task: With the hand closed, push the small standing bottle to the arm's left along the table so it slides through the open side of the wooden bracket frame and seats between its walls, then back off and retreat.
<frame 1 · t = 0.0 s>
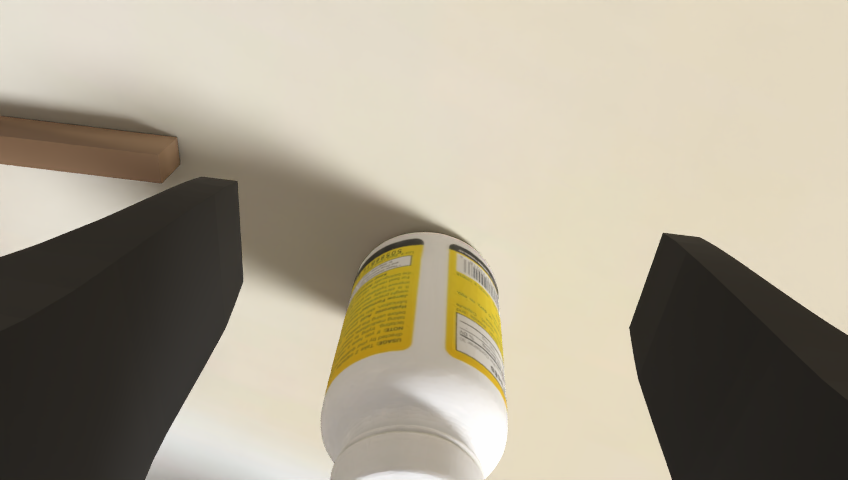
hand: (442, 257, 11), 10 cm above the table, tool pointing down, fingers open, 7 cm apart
wooden bracket frame: (85, 248, 23), on the table
supplement bottle: (427, 285, 24), on the table
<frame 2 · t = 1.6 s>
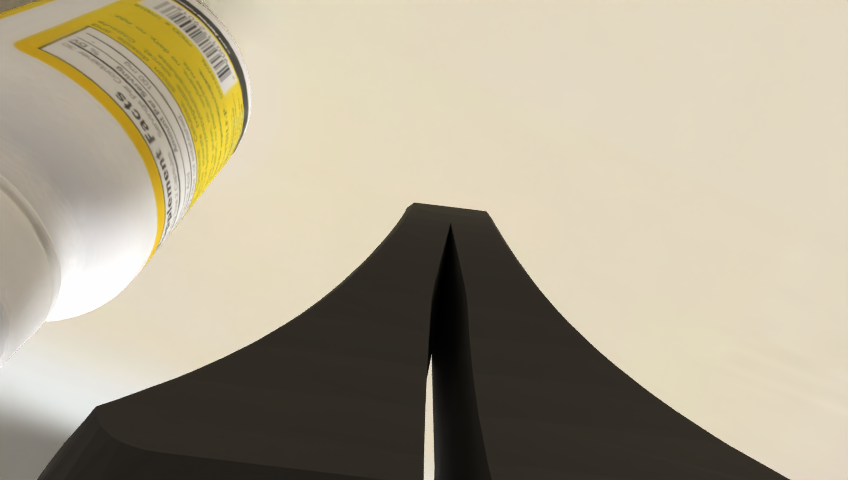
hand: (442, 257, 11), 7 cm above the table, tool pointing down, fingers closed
supplement bottle: (162, 79, 17), on the table
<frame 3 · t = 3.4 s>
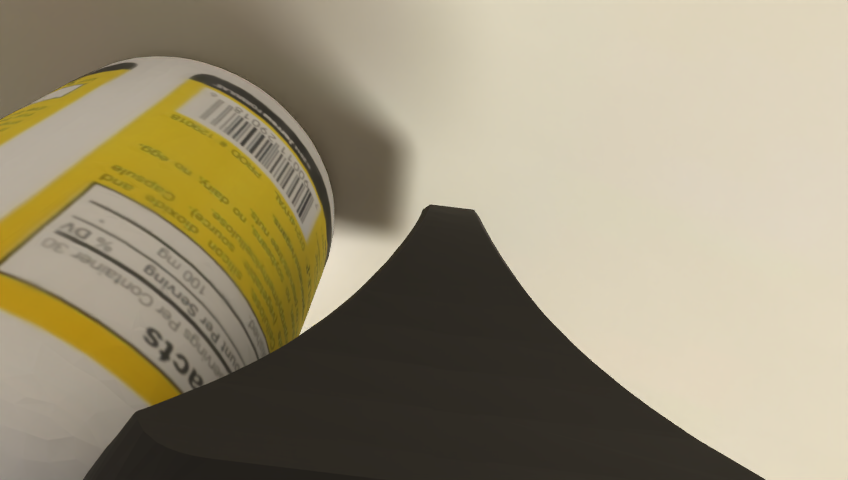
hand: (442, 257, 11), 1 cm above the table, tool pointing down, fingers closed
supplement bottle: (205, 190, 12), on the table, touching gripper
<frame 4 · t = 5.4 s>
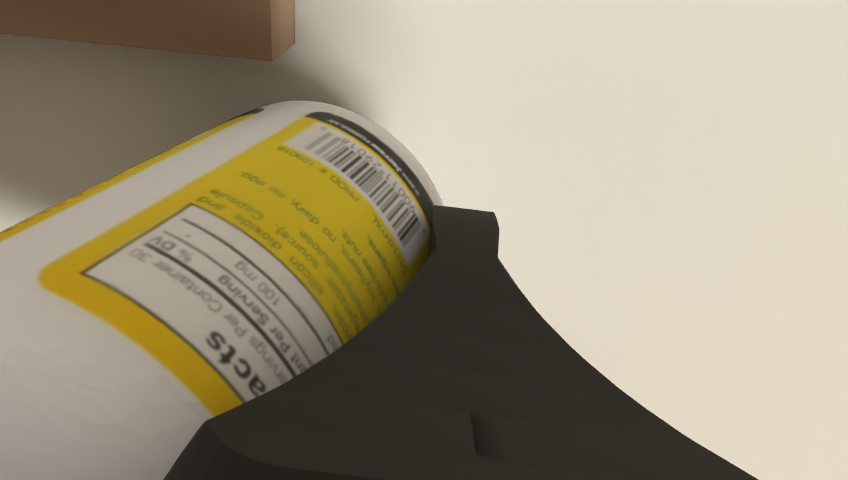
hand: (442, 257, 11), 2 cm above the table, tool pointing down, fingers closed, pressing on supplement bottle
wooden bracket frame: (110, 216, 13), on the table
supplement bottle: (336, 225, 13), on the table, touching gripper
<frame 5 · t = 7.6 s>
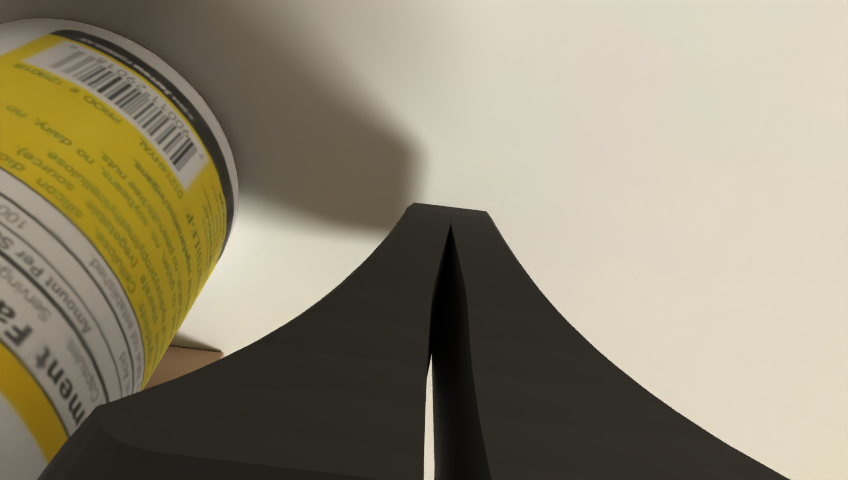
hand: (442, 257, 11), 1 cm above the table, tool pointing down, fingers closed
supplement bottle: (108, 161, 12), on the table
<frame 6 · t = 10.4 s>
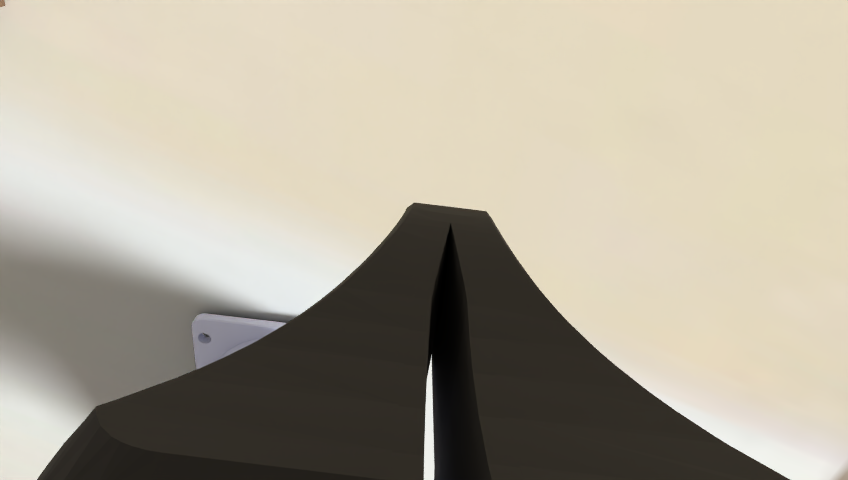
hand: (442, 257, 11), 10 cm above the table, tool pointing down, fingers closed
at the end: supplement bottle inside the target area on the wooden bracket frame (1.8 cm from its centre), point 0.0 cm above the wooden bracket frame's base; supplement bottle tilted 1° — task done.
